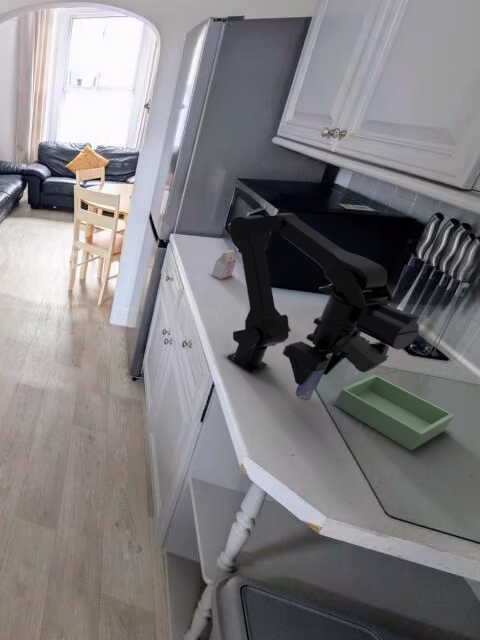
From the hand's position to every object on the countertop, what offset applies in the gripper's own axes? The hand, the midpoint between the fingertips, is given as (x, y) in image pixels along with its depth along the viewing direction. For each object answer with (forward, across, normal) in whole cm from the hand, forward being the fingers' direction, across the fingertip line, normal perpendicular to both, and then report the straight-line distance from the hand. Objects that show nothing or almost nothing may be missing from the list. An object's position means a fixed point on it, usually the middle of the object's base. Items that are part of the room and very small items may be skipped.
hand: (311, 378), depth 87 cm
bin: (+7, +13, -10) cm, 18 cm away
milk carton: (+7, +43, +52) cm, 68 cm away
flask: (+3, 0, 0) cm, 3 cm away
